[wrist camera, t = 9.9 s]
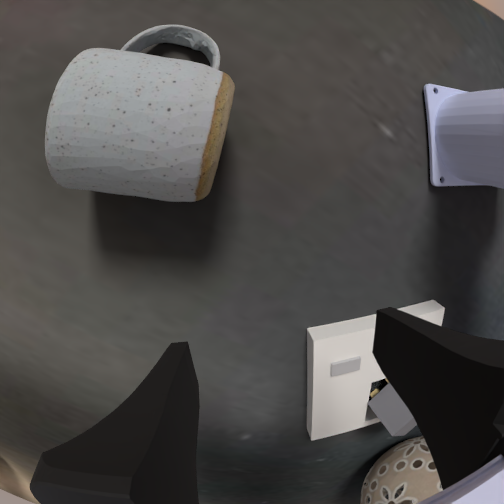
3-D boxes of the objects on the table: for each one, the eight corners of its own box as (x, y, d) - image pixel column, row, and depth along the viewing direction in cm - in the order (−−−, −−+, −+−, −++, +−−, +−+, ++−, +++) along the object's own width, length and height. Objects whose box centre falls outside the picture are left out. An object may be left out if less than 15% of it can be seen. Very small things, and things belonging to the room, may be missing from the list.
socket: (433, 299, 24) (446, 309, 22) (411, 396, 28) (420, 408, 26) (306, 328, 23) (314, 343, 21) (306, 427, 27) (311, 443, 25)
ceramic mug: (210, 199, 19) (208, 222, 12) (89, 181, 18) (28, 194, 11) (244, 44, 17) (263, -14, 9) (124, 30, 15) (87, -24, 8)
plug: (392, 368, 24) (425, 406, 20) (404, 374, 26) (434, 408, 22) (362, 397, 25) (392, 436, 21) (377, 400, 27) (404, 435, 23)
